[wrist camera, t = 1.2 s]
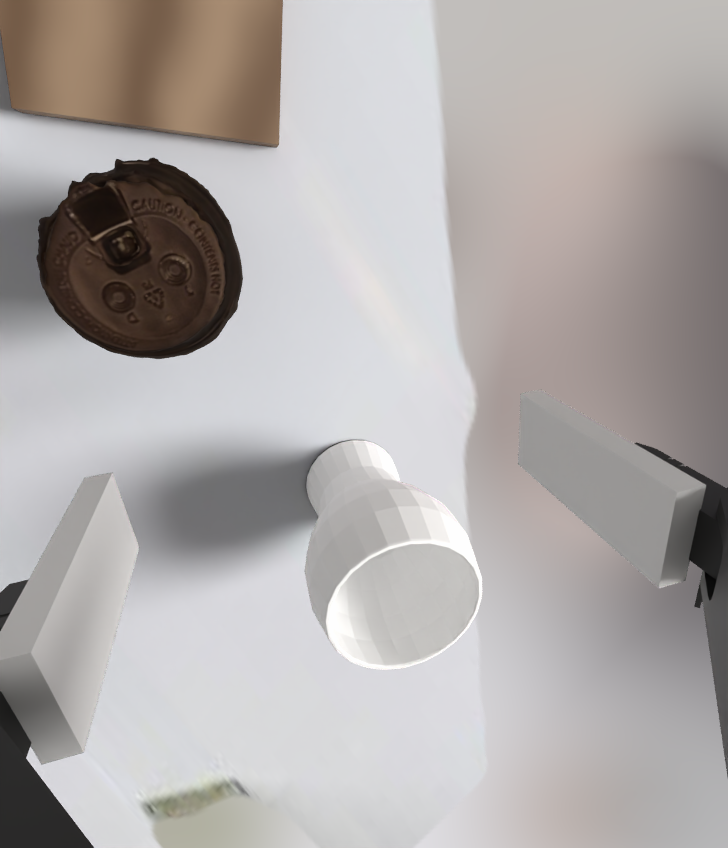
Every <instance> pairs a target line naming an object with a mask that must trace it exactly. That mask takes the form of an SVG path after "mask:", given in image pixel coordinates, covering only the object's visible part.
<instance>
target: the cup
mask: <svg viewBox="0 0 728 848" xmlns="http://www.w3.org/2000/svg"><path fill="white" fill-rule="evenodd" d="M306 488H307V494H308V498H309V500H310V502H311V504H312V506H313V508H314V510H315V511H316V513H317V515H318V516H319V518H318V519H317V522H316V524H315V526H314V529H313V531H312V533H311V537H310V542H309V546H308V550H307V556H306V564H305V575H306V581H307V586H308V592H309V596H310V601H311V606H312V610H313V612H314V614H315V616H316V617H317V619H318V621H319V623H320V625H321V626H322V628H323V630H324V632H325V634H326V635H327V637H328V639H329V640H330V642H331V643H332V645H333V647H334V648H335V650H336V651H337V652H338V653H340V654H341V655H342V656H343V657H345V658H346V659H347V660H348V661H350V662H352V663H355V664H357V665H360V666H363V667H365V668H372V669H381V670H388V669H399V668H405V667H409V666H412V665H415V664H419V663H422V662H424V661H426V660H428V659H430V658H432V657H434V656H436V655H438V654H440V653H441V652H443V651H444V650H445V649H447V648H448V647H449V646H451V645H452V644H453V643H455V642H456V641H457V640H458V639H459V638H460V636H461V635H462V634H463V633H464V632H465V631H466V630H467V629H468V628H469V626H470V624H471V622H472V621H473V619H474V617H475V616H476V614H477V612H478V608H479V605H480V601H481V598H482V577H481V574H480V571H479V568H478V565H477V562H476V558H475V556H474V552H473V549H472V546H471V544H470V541H469V538H468V536H467V534H466V532H465V531H464V530H463V528H462V527H461V525H460V524H459V523H458V521H457V520H456V518H455V517H454V516H453V515H452V513H451V512H450V511H449V510H448V509H447V508H446V506H445V505H444V504H443V503H441V502H440V501H438V500H436V499H435V498H433V497H432V496H430V495H428V494H427V493H425V492H423V491H421V490H420V489H418V488H416V487H415V486H413V485H410V484H406V483H403V482H400V480H399V476H398V473H397V470H396V467H395V465H394V463H393V460H392V458H391V457H390V455H389V454H388V453H387V452H386V451H385V450H384V449H383V448H381V447H380V446H378V445H376V444H374V443H371V442H368V441H364V440H350V441H346V442H341V443H338V444H336V445H334V446H332V447H330V448H328V449H327V450H326V451H324V452H323V453H322V454H321V455H320V456H319V457H318V458H317V459H316V461H315V462H314V463H313V464H312V466H311V468H310V471H309V473H308V476H307V484H306Z"/></svg>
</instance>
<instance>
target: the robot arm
mask: <svg viewBox="0 0 728 848" xmlns="http://www.w3.org/2000/svg"><path fill="white" fill-rule="evenodd" d="M518 456H519V457H518V464H519V465H520V466H521V467H522V468H523V469H524V470H525V471H526V472H528V473H529V474H530V475H531V476H532V477H534V479H536V480H537V481H538V482H539V483H540V484H541V485H542V486H543V487H545V488H546V489H547V490H548V491H549V492H550V493H551V494H552V495H554V496H555V497H556V498H557V499H558V500H559V501H560V502H562V503H563V504H564V505H565V506H566V507H567V508H568V509H569V510H571V511H572V512H573V513H574V514H575V515H576V516H578V517H579V518H580V519H581V520H582V521H583V522H584V523H585V524H587V525H588V526H589V527H590V528H591V529H592V530H593V531H594V532H595V533H597V534H598V535H599V536H600V537H601V538H602V539H603V540H605V541H606V542H607V543H608V544H609V545H610V546H611V547H612V548H614V549H615V550H616V551H617V552H618V553H619V554H620V555H621V556H623V557H624V558H625V559H626V560H627V561H628V562H629V563H630V564H632V565H633V566H634V567H635V568H636V569H637V570H638V571H640V572H641V573H642V574H643V575H644V576H645V577H646V578H647V579H649V580H650V581H651V582H652V583H653V584H654V585H655V586H656V587H658V588H662V587H665V586H668V585H672V584H676V583H679V582H683V581H685V580H686V576H687V571H688V566H689V562H690V561H692V562H693V563H694V564H696V565H697V566H698V567H700V568H701V569H702V570H703V572H702V576H701V580H700V585H699V589H698V593H697V598H696V603H695V607H698V608H700V605H701V602H703V607H704V613H705V621H706V628H707V635H708V642H709V649H710V656H711V663H712V670H713V677H714V684H715V691H716V699H717V706H718V713H719V720H720V727H721V734H722V740H723V748H724V755H725V761H726V769H727V775H728V488H725V487H723V486H721V485H720V484H718V483H716V482H714V481H713V480H711V479H709V478H707V477H705V476H704V475H702V474H700V473H698V472H696V471H695V470H693V469H691V468H689V467H688V466H686V467H685V466H684V464H682V463H680V462H679V461H677V460H675V459H673V460H672V459H671V457H670V456H668V455H666V454H664V453H663V452H661V451H659V450H657V449H655V448H652V447H649V446H646V445H642V444H639V443H633V442H631V441H629V440H627V439H626V438H624V437H622V436H620V435H619V434H617V433H615V432H614V431H612V430H610V429H608V428H607V427H605V426H603V425H601V424H600V423H598V422H596V421H595V420H593V419H591V418H589V417H588V416H586V415H584V414H582V413H581V412H579V411H577V410H575V409H574V408H572V407H570V406H569V405H567V404H565V403H563V402H562V401H560V400H558V399H556V398H555V397H553V396H551V395H549V394H548V393H546V392H544V391H543V390H536V391H531V392H525V393H521V396H520V426H519V454H518ZM138 551H139V545H138V543H137V540H136V537H135V534H134V531H133V529H132V526H131V523H130V520H129V517H128V515H127V512H126V509H125V506H124V503H123V501H122V498H121V495H120V492H119V490H118V487H117V484H116V481H115V478H114V476H113V473H107V474H102V475H97V476H92V477H87V478H84V480H83V482H82V483H81V485H80V487H79V489H78V491H77V493H76V494H75V496H74V498H73V500H72V502H71V503H70V505H69V507H68V509H67V511H66V513H65V514H64V516H63V518H62V520H61V522H60V524H59V525H58V527H57V529H56V531H55V533H54V534H53V536H52V538H51V540H50V542H49V544H48V545H47V547H46V549H45V551H44V553H43V555H42V556H41V558H40V560H39V562H38V564H37V565H36V567H35V569H34V571H33V573H32V575H31V576H30V578H29V580H26V581H21V582H17V583H12V584H9V585H8V586H7V587H6V588H5V589H4V590H3V591H2V592H1V593H0V848H94V847H93V846H92V844H91V843H90V842H89V840H88V839H87V838H86V837H85V835H84V834H83V833H82V831H81V830H80V829H79V827H78V826H77V825H76V823H75V822H74V821H73V820H72V818H71V817H70V816H69V814H68V813H67V812H66V810H65V809H64V808H63V806H62V805H61V804H60V802H59V801H58V800H57V799H56V797H55V796H54V795H53V793H52V792H51V791H50V789H49V788H48V787H47V785H46V784H45V783H44V781H43V780H42V779H41V778H40V776H39V775H38V774H37V772H36V771H35V770H34V768H33V767H32V766H31V764H30V763H29V762H28V761H27V759H26V756H27V754H28V751H29V748H30V746H31V748H32V749H33V751H34V753H35V754H36V756H37V758H38V759H39V761H40V763H41V764H46V763H49V762H53V761H56V760H60V759H63V758H67V757H70V756H74V755H77V754H81V753H84V750H85V746H86V742H87V739H88V735H89V731H90V728H91V724H92V720H93V717H94V713H95V709H96V706H97V702H98V698H99V695H100V691H101V687H102V684H103V680H104V676H105V673H106V669H107V665H108V662H109V658H110V654H111V651H112V647H113V643H114V640H115V636H116V632H117V628H118V625H119V621H120V617H121V614H122V610H123V606H124V603H125V599H126V595H127V592H128V588H129V584H130V581H131V577H132V573H133V570H134V566H135V562H136V559H137V555H138Z"/></svg>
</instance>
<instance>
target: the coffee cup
mask: <svg viewBox="0 0 728 848" xmlns="http://www.w3.org/2000/svg"><path fill="white" fill-rule="evenodd" d="M39 223H40V225H39V227H38V231H39V240H38V242H39V248H38V253H39V254H38V255H37V262H38V267H39V270H40V280H41V284H42V287H43V289H44V290H45V293H46V295H47V297H48V299H49V301H50V303H51V304H52V306H53V307H54V309H55V312H56V313H57V314H58V315H59V316H60V317H61V318H62V319H63V320H64V321H65V322H66V323H67V324H68V325H69V326H71V327H72V328H73V329H74V330H75V331H76V332H77V333H78V334H79V335H81V336H82V337H83V338H85V339H86V340H88V341H90V342H92V343H95V344H96V345H98V346H100V347H102V348H104V349H106V350H108V351H111V352H113V353H118V354H122V355H127V356H132V357H139V358H155V359H162V358H170V357H176V356H180V355H187V354H189V353H191V352H193V351H195V350H197V349H200V348H202V347H204V346H205V345H207V344H209V343H211V342H212V341H213V340H214V339H216V338H217V337H218V335H219V334H220V332H221V331H222V329H223V328H224V326H225V325H226V323H227V321H228V320H229V319H230V318H231V317H232V316H233V314H234V313H235V312H236V310H237V308H238V300H239V296H240V292H241V287H242V280H243V276H242V266H241V260H240V255H239V251H238V248H237V245H236V242H235V239H234V236H233V233H232V228H231V225H230V222H229V220H228V219H227V217H226V216H225V214H224V212H223V211H222V209H221V208H220V206H219V205H218V203H217V201H216V200H215V199H214V198H213V197H212V195H211V194H210V193H209V191H208V190H207V189H206V188H205V187H204V186H203V185H201V184H200V183H199V182H198V181H197V180H195V179H194V178H192V177H190V176H189V175H188V174H187V173H185V172H183V171H181V170H179V169H177V168H176V167H174V166H171V165H167V164H163V163H161V162H159V161H158V159H155V158H150V159H149V160H148V161H142V160H137V161H121V160H119V159H116V161H115V168H114V169H113V170H111V171H108V172H104V173H90V174H88V175H87V176H86V177H85V178H84V179H83V181H82V182H76V181H72V183H71V185H70V186H69V191H68V197H67V198H66V199H65V200H63V201H62V202H61V203H60V205H59V206H58V209H57V210H56V211H55V212H54V213H53V214H52V215H51V216H50V217H44V218H41V219H40V220H39Z"/></svg>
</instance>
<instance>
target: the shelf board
mask: <svg viewBox="0 0 728 848" xmlns="http://www.w3.org/2000/svg"><path fill="white" fill-rule="evenodd" d="M282 7H283V0H0V31H1V38H2V45H3V52H4V59H5V66H6V72H7V79H8V86H9V93H10V100H11V107H12V108H13V109H15V110H17V111H20V112H22V113H28V114H35V115H43V116H50V117H57V118H65V119H72V120H79V121H87V122H94V123H101V124H109V125H116V126H123V127H131V128H138V129H145V130H153V131H160V132H168V133H175V134H182V135H190V136H197V137H204V138H212V139H219V140H226V141H234V142H241V143H248V144H256V145H263V146H270V147H277V146H278V145H279V117H280V81H281V44H282Z"/></svg>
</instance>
